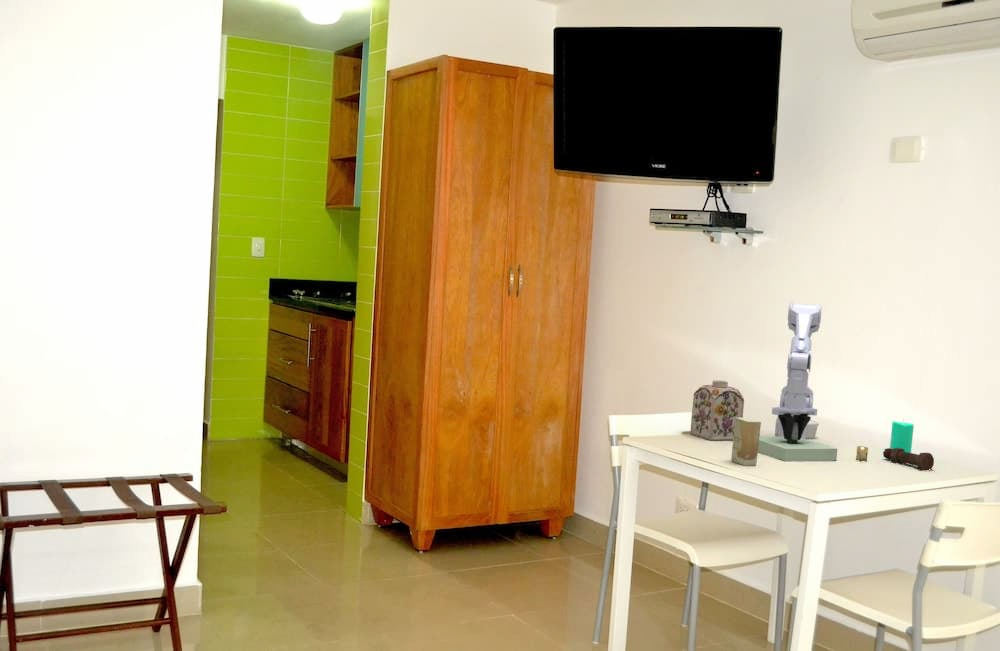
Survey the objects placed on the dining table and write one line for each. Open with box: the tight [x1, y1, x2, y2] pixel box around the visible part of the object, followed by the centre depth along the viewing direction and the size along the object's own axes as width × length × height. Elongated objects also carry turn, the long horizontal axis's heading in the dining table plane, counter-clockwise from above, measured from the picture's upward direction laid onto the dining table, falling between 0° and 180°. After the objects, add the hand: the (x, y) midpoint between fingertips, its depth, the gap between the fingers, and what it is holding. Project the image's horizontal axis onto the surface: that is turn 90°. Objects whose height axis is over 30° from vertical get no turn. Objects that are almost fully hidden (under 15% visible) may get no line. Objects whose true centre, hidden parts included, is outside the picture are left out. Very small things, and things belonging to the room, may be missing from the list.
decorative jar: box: [690, 379, 745, 441], centre depth 302 cm, size 12×12×18 cm
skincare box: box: [730, 417, 762, 466], centre depth 262 cm, size 6×4×12 cm
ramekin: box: [805, 419, 820, 440], centre depth 316 cm, size 11×11×5 cm
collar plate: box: [758, 436, 838, 462], centre depth 281 cm, size 18×18×4 cm
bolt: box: [882, 447, 935, 471], centre depth 278 cm, size 6×5×15 cm
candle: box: [889, 418, 915, 453], centre depth 289 cm, size 6×6×12 cm
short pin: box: [855, 445, 869, 462], centre depth 279 cm, size 3×3×4 cm
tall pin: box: [787, 422, 799, 444], centre depth 281 cm, size 3×3×7 cm
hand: (792, 439), depth 281 cm, fingers closed on tall pin, 3 cm apart
